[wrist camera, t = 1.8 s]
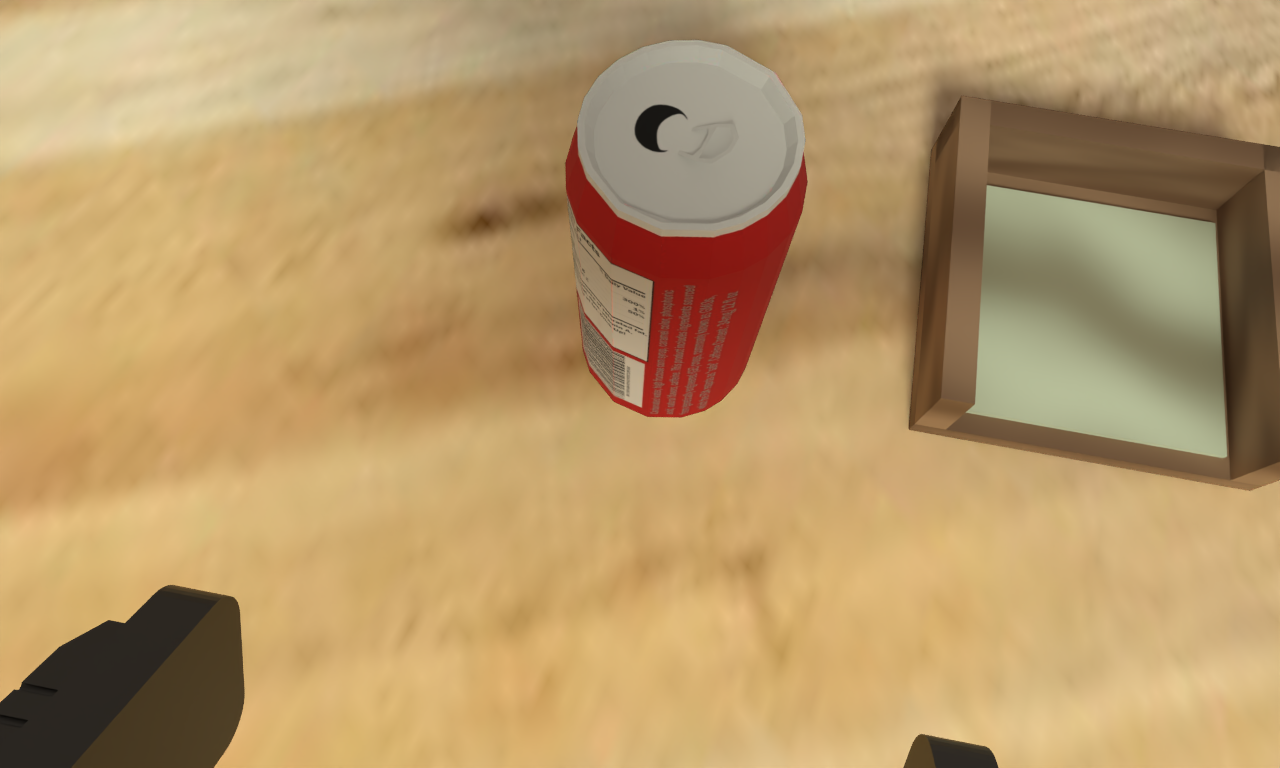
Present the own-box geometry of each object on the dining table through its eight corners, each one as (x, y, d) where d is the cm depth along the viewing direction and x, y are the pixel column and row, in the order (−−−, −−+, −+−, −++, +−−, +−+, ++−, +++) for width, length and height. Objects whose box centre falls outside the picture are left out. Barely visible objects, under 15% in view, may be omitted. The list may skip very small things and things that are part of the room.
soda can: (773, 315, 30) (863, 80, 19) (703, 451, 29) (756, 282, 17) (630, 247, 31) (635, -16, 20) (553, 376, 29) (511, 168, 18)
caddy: (1250, 490, 29) (1321, 465, 26) (908, 429, 29) (940, 398, 26) (1232, 200, 32) (1292, 149, 29) (931, 150, 33) (961, 95, 30)
